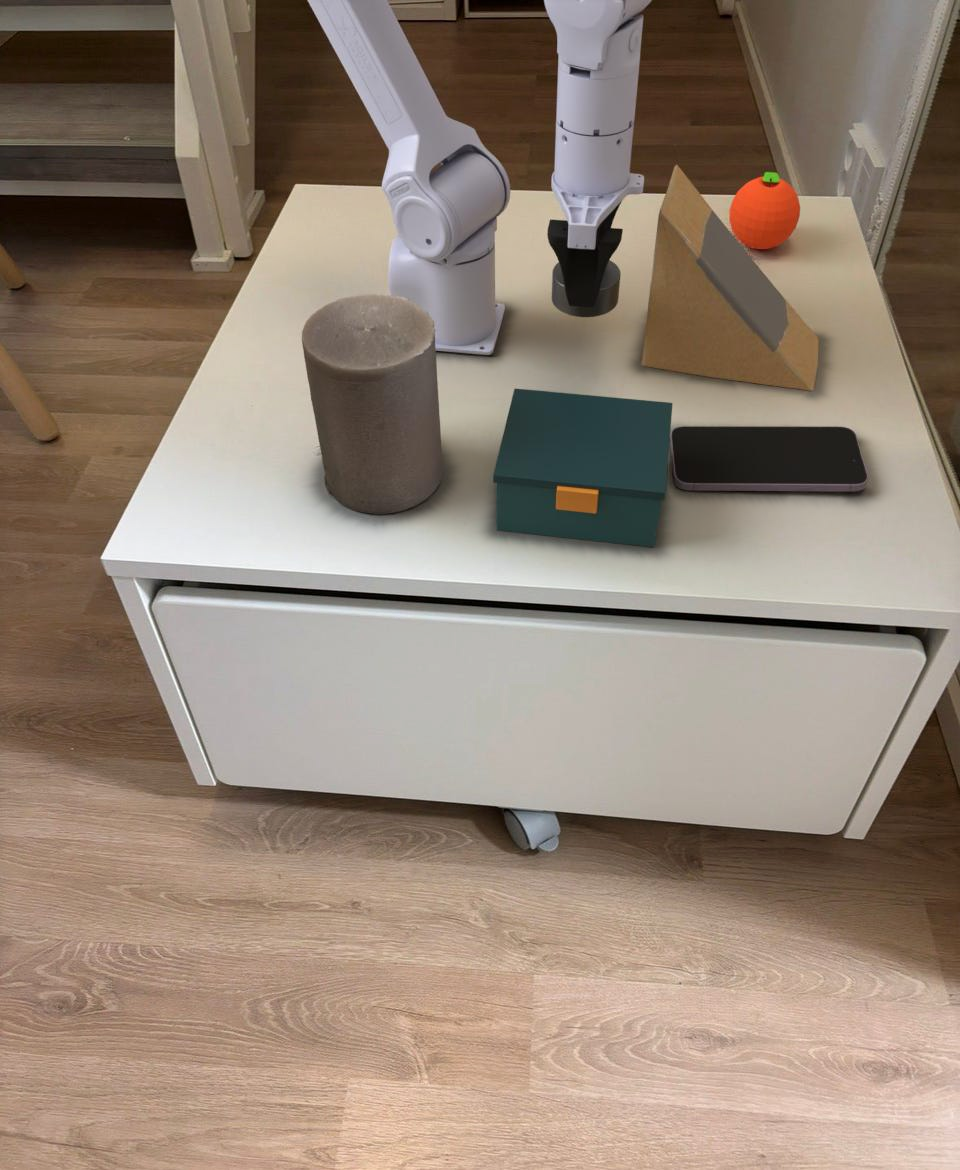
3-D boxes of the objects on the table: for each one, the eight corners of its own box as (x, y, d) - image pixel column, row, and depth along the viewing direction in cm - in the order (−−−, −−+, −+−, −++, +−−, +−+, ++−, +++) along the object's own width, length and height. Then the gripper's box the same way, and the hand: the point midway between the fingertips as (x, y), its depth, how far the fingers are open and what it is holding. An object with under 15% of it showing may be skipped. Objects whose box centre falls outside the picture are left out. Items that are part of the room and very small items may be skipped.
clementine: (726, 220, 109) (737, 154, 104) (792, 225, 108) (807, 160, 103) (722, 259, 104) (734, 192, 99) (792, 265, 103) (807, 198, 98)
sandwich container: (814, 393, 89) (858, 234, 78) (640, 367, 92) (658, 210, 81) (820, 337, 95) (862, 181, 84) (655, 315, 98) (674, 161, 87)
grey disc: (547, 315, 85) (548, 288, 83) (555, 278, 88) (556, 252, 87) (615, 320, 84) (618, 293, 82) (620, 283, 88) (623, 256, 86)
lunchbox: (492, 535, 78) (492, 478, 74) (514, 441, 86) (515, 385, 81) (656, 553, 77) (665, 496, 72) (664, 456, 84) (672, 399, 80)
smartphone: (669, 425, 85) (854, 425, 84) (668, 435, 86) (851, 436, 85) (675, 484, 81) (871, 485, 79) (673, 494, 81) (867, 496, 80)
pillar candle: (304, 499, 81) (272, 339, 70) (356, 425, 87) (334, 267, 76) (417, 527, 79) (402, 366, 68) (462, 449, 85) (455, 289, 74)
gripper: (644, 168, 70) (627, 337, 80) (654, 81, 79) (638, 242, 89) (541, 162, 71) (537, 331, 81) (564, 77, 80) (558, 237, 90)
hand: (584, 284), depth 85 cm, fingers closed on grey disc, 5 cm apart
